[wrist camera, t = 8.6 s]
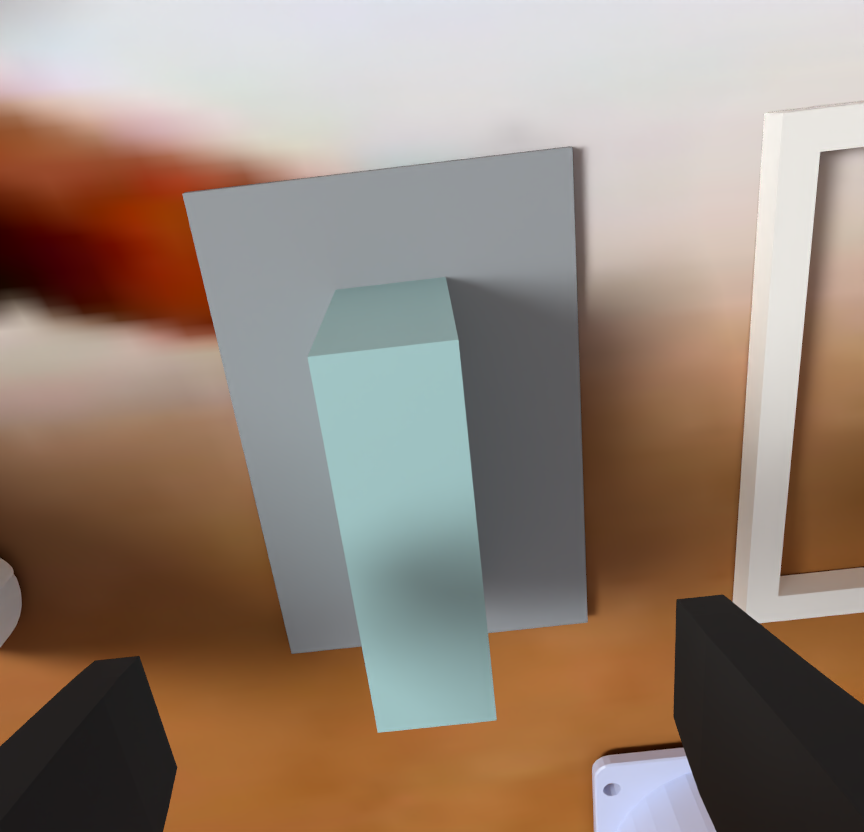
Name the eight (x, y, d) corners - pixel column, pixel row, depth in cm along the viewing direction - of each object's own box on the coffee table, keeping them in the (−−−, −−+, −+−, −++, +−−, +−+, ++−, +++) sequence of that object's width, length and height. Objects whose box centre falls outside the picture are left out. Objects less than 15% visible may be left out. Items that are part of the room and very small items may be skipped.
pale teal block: (477, 582, 19) (496, 720, 14) (385, 591, 19) (377, 732, 15) (445, 277, 16) (458, 339, 11) (335, 289, 16) (307, 357, 11)
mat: (585, 614, 20) (587, 622, 19) (293, 646, 20) (291, 653, 20) (569, 146, 15) (572, 147, 15) (186, 191, 15) (182, 193, 15)
